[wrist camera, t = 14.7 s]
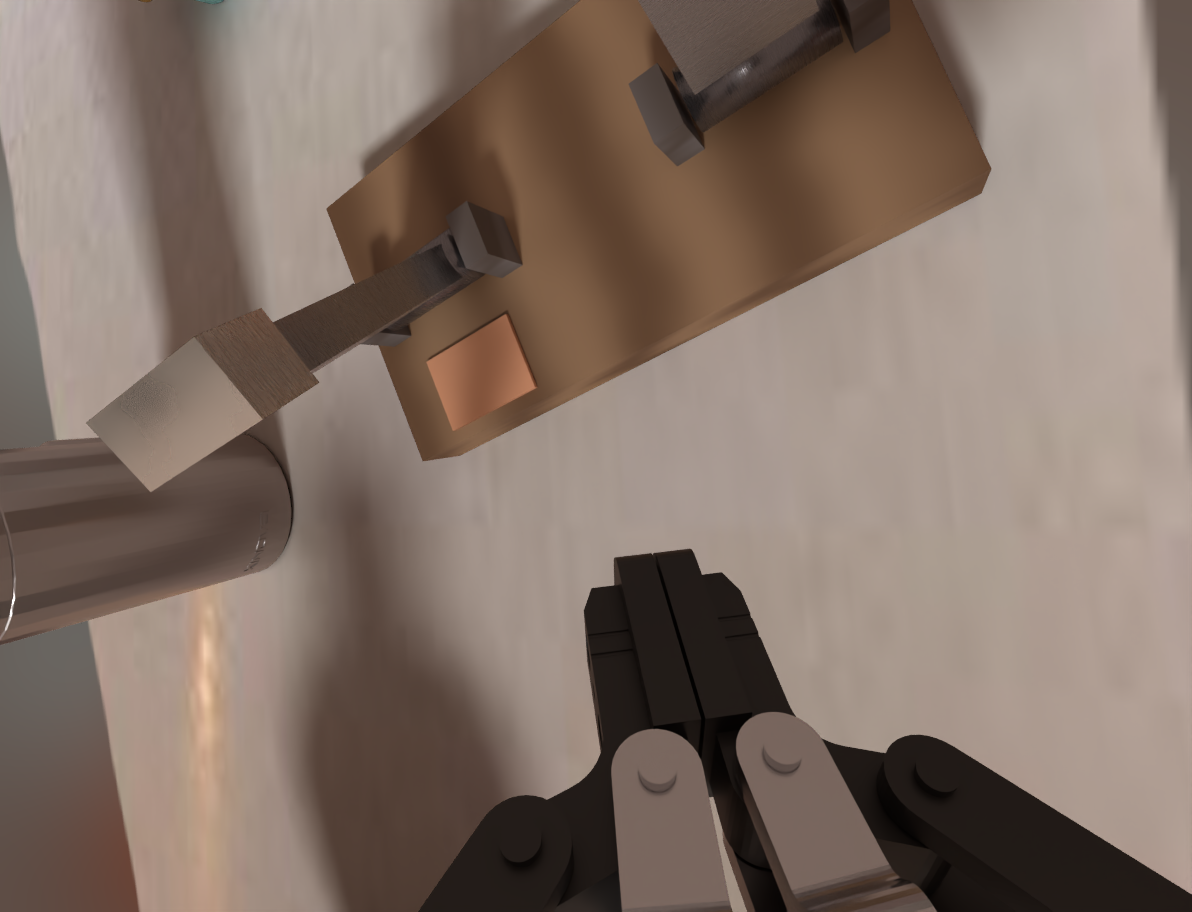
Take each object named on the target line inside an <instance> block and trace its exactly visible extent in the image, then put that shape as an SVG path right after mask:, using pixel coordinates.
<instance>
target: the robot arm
mask: <svg viewBox="0 0 1192 912" xmlns="http://www.w3.org/2000/svg"><path fill="white" fill-rule="evenodd" d="M290 526H291V503H290V495H289V491H288V487H287V483H286V480H285V477H284V475H283V473H282V470H281V468H280V466H279V464H278V463H277V461H276V460H275V458H274V456H273V455H272V454H271V453H270V451H269V450H268V449H267V448H266V447H265V446H264V445H263V444H262V443H260V442H259V441H257V440H256V439H254V438H253V437H250V436H247V435H245V434H240V435H238V436H236V437H235V438H233V439H232V440H230V441H229V442H227V443H226V444H224V445H223V446H221V447H220V448H218V449H216V450H215V451H213V452H212V453H210V454H209V455H207V456H206V457H204V458H203V459H201V460H199V461H198V462H196V463H195V464H193V465H192V466H190V467H189V468H187V469H186V470H184V471H182V472H181V473H179V474H178V475H176V476H175V477H173V478H172V479H170V480H169V481H167V482H166V483H164V484H162V485H161V486H159V487H158V488H156V489H155V490H153V491H152V492H150V491H149V490H148V489H147V488H146V487H145V486H144V484H143V483H142V482H141V481H140V480H139V479H138V478H137V477H136V476H135V475H134V474H133V473H132V472H131V471H130V470H129V468H128V467H127V466H126V465H125V464H124V463H123V462H122V461H121V460H120V459H119V458H118V457H117V456H116V455H115V453H114V452H113V451H112V450H111V449H110V448H109V447H108V446H107V445H106V444H105V443H104V442H103V441H102V440H101V439H100V438H85V439H69V440H53V441H47V442H45V443H43V444H42V445H41V446H40V447H28V448H13V449H0V645H3V644H6V643H10V642H14V641H17V640H21V639H24V638H28V637H31V636H35V635H38V634H42V633H45V632H49V631H52V630H56V629H59V628H62V627H66V626H70V625H73V624H76V623H80V622H83V621H87V620H91V619H94V618H98V617H101V616H105V615H108V614H112V613H115V612H119V611H122V610H126V609H129V608H133V607H136V606H140V605H143V604H147V603H150V602H154V601H158V600H161V599H165V598H168V597H172V596H175V595H179V594H182V593H186V592H189V591H193V590H196V589H200V588H203V587H207V586H210V585H214V584H217V583H221V582H224V581H228V580H231V579H235V578H238V577H242V576H245V575H249V574H252V573H256V572H259V571H261V570H264V569H266V568H268V567H269V566H271V565H272V564H273V563H274V562H275V561H276V560H277V559H278V557H279V556H280V555H281V553H282V552H283V550H284V547H285V545H286V542H287V540H288V536H289V531H290ZM584 618H585V633H586V648H587V662H588V669H589V675H590V682H591V688H592V696H593V703H594V709H595V716H596V723H597V730H598V737H599V744H600V750H601V753H600V756H599V759H598V761H597V763H596V765H595V766H594V768H593V769H592V771H591V772H590V773H589V774H588V775H587V776H586V777H585V778H584V779H583V780H582V781H580V782H579V783H577V784H576V785H574V786H573V787H571V788H569V789H567V790H565V791H563V792H561V793H560V794H558V795H556V796H554V797H552V798H550V799H548V800H546V799H544V798H541V797H537V796H530V795H524V796H517V797H513V798H510V799H507V800H505V801H503V802H501V803H500V804H498V805H497V806H495V807H494V808H493V809H492V810H491V811H490V812H489V813H488V814H487V815H486V816H485V817H484V819H483V820H482V821H481V823H480V824H479V826H478V827H477V828H476V830H475V831H474V833H473V834H472V836H471V837H470V838H469V840H468V841H467V843H466V844H465V846H464V847H463V848H462V850H461V851H460V853H459V854H458V856H457V857H456V859H455V860H454V861H453V863H452V864H451V866H450V867H449V869H448V870H447V871H446V873H445V874H444V876H443V877H442V879H441V880H440V881H439V883H438V884H437V886H436V887H435V889H434V890H433V891H432V893H431V894H430V896H429V897H428V899H427V900H426V901H425V903H424V904H423V906H422V907H421V909H420V910H419V911H418V912H732V908H731V905H730V901H729V896H728V891H727V886H726V881H725V876H724V871H723V866H722V861H721V856H720V851H719V846H718V840H717V835H716V830H715V825H714V820H713V815H712V810H711V805H710V800H709V797H714V800H715V804H716V808H717V811H718V815H719V818H720V822H721V825H722V829H723V833H722V835H723V843H724V846H725V850H726V853H727V855H728V858H729V861H730V864H731V867H732V870H733V873H734V875H735V878H736V881H737V884H738V887H739V890H740V893H741V895H742V898H743V901H744V904H745V907H746V910H747V912H1192V894H1190V893H1188V892H1187V891H1185V890H1184V889H1182V888H1180V887H1179V886H1177V885H1176V884H1174V883H1172V882H1171V881H1169V880H1167V879H1166V878H1164V877H1163V876H1161V875H1159V874H1158V873H1156V872H1155V871H1153V870H1151V869H1150V868H1148V867H1147V866H1145V865H1143V864H1142V863H1140V862H1139V861H1137V860H1135V859H1134V858H1132V857H1130V856H1129V855H1127V854H1126V853H1124V852H1122V851H1121V850H1119V849H1118V848H1116V847H1114V846H1113V845H1111V844H1110V843H1108V842H1106V841H1105V840H1103V839H1101V838H1100V837H1098V836H1097V835H1095V834H1093V833H1092V832H1090V831H1089V830H1087V829H1085V828H1084V827H1082V826H1081V825H1079V824H1077V823H1076V822H1074V821H1072V820H1071V819H1069V818H1068V817H1066V816H1064V815H1063V814H1061V813H1060V812H1058V811H1056V810H1055V809H1053V808H1052V807H1050V806H1048V805H1047V804H1045V803H1044V802H1042V801H1040V800H1039V799H1037V798H1035V797H1034V796H1032V795H1031V794H1029V793H1027V792H1026V791H1024V790H1023V789H1021V788H1019V787H1018V786H1016V785H1015V784H1013V783H1011V782H1010V781H1008V780H1006V779H1005V778H1003V777H1002V776H1000V775H998V774H997V773H995V772H994V771H992V770H990V769H989V768H987V767H986V766H984V765H982V764H981V763H979V762H978V761H976V760H974V759H973V758H971V757H969V756H968V755H966V754H965V753H963V752H961V751H960V750H958V749H957V748H955V747H953V746H952V745H950V744H948V743H946V742H944V741H942V740H939V739H937V738H933V737H930V736H924V735H909V736H904V737H902V738H900V739H897V740H896V741H895V742H893V743H892V744H891V745H890V747H889V748H888V750H887V752H886V753H880V752H874V751H868V750H863V749H857V748H851V747H845V746H841V745H837V744H834V743H831V742H828V741H826V740H824V739H822V738H821V737H820V736H819V735H818V734H817V732H816V731H815V730H814V729H813V728H812V727H811V726H809V725H808V724H807V723H805V722H804V721H802V720H801V719H799V718H797V717H796V716H795V715H794V713H793V712H792V710H791V708H790V706H789V704H788V701H787V699H786V697H785V694H784V692H783V690H782V687H781V685H780V682H779V680H778V678H777V675H776V673H775V671H774V668H773V666H772V664H771V661H770V659H769V657H768V654H767V652H766V649H765V647H764V645H763V642H762V640H761V638H760V637H759V635H758V631H757V628H756V626H755V624H754V621H753V619H752V618H751V616H750V612H749V609H748V607H747V605H746V602H745V600H744V598H743V595H742V593H741V591H740V590H739V589H738V588H737V587H736V586H735V585H734V584H733V583H732V582H731V581H730V580H729V579H728V578H727V577H726V576H725V575H724V574H723V573H722V572H721V573H713V574H705V575H702V574H701V571H700V568H699V566H698V563H697V560H696V557H695V555H694V553H693V551H692V550H691V549H684V550H676V551H667V552H659V553H654V554H653V555H652V554H651V553H649V554H641V555H633V556H624V557H616V558H614V586H606V587H598V588H592V589H591V592H590V595H589V598H588V600H587V603H586V606H585V609H584Z"/></svg>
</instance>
